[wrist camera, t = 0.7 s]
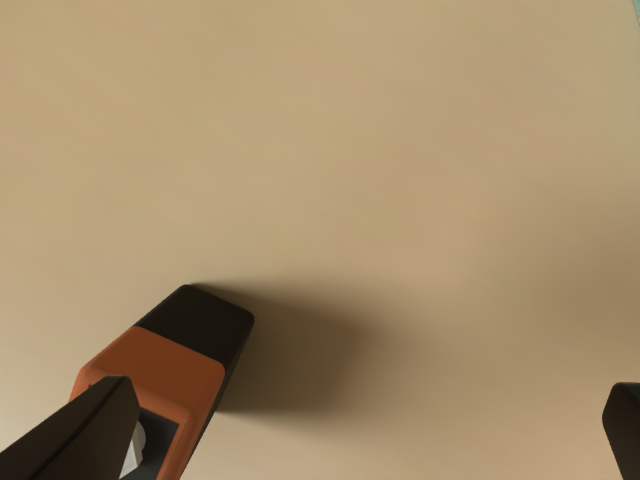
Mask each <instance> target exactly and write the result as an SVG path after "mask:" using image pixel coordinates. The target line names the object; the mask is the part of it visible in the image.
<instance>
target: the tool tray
mask: <svg viewBox="0 0 640 480" xmlns="http://www.w3.org/2000/svg"><path fill="white" fill-rule="evenodd" d="M633 1H634V5H635V8H636V12H637V16H638V19H639V23H640V0H633Z"/></svg>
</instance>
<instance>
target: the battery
mask: <svg viewBox="0 0 640 480" xmlns="http://www.w3.org/2000/svg"><path fill="white" fill-rule="evenodd" d="M253 324H254V316H253V315H252V313H250V312H248V311H246V310H244V309H241V308H239V307H237V306H235V305H233V304H230V303H228V302H226V301H224V300H222V299H219V298H217V297H215V296H213V295H210V294H208V293H206V292H204V291H202V290H199V289H197V288H195V287H193V286H190V285H182V286H181V287H179V288H178V289H177V290H175V291H174V292H173V293H172V294H170V295H169V296H168V297H167V298H166V299H164V300H163V301H162V302H161V303H160V304H158V305H157V306H156V307H155V308H153V309H152V310H151V311H150V312H149V313H147V314H146V315H145V316H144V317H143V318H141V319H140V320H139V321H138V322H136V323H135V324H134V325H133V326H132V327H130V328H129V329H128V330H127V331H126V332H124V333H123V334H122V335H121V336H119V337H118V338H117V339H116V340H115V341H113V342H112V343H111V344H110V345H109V346H107V347H106V348H105V349H104V350H102V351H101V352H100V353H99V354H98V355H96V356H95V357H94V358H93V359H91V360H90V361H89V362H88V363H87V364H85V365H84V366H83V367H82V368H81V370H80V371H79V373H78V376H77V378H76V381H75V384H74V387H73V390H72V393H71V396H70V398H69V401H68V403H69V402H70V401H71V400H73V399H74V398H76V397H77V396H78V395H80V394H81V393H82V392H84V391H85V390H86V389H88V388H89V387H91V386H92V385H93V384H95V383H96V382H97V381H99V380H100V379H101V378H103V377H105V376H107V375H127V376H128V377H130V379H131V381H132V384H133V387H134V389H135V392H136V395H137V398H138V401H139V405H140V413H139V418H138V421H137V424H136V427H135V430H134V434H133V437H132V440H131V443H130V446H129V449H128V453H127V456H126V459H125V462H124V465H123V468H122V472H121V475H120V478H119V480H179V479H180V478H181V476H182V474H183V472H184V470H185V468H186V466H187V464H188V462H189V460H190V458H191V456H192V455H193V453H194V451H195V449H196V447H197V445H198V443H199V441H200V439H201V437H202V435H203V433H204V432H205V430H206V428H207V426H208V424H209V422H210V420H211V418H212V416H213V414H214V412H215V410H216V408H217V406H218V404H219V401H220V399H221V397H222V395H223V392H224V390H225V388H226V386H227V383H228V381H229V379H230V377H231V374H232V372H233V370H234V368H235V365H236V363H237V361H238V359H239V356H240V354H241V352H242V350H243V347H244V345H245V343H246V341H247V338H248V336H249V334H250V332H251V329H252V327H253Z"/></svg>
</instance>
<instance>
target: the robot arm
mask: <svg viewBox="0 0 640 480" xmlns="http://www.w3.org/2000/svg"><path fill="white" fill-rule="evenodd" d="M139 413H140V405H139V401H138V398H137V395H136V392H135V389H134V387H133V384H132V381H131V379H130V377H128V376H127V375H107V376H105V377H103V378H101V379H100V380H99V381H97V382H96V383H95V384H93V385H92V386H91V387H89V388H88V389H86V390H85V391H84V392H82V393H81V394H80V395H78V396H77V397H76V398H74V399H73V400H71V401H70V402H69V403H67V404H66V405H65V406H63V407H62V408H61V409H59V410H58V411H56V412H55V413H54V414H52V415H51V416H50V417H48V418H47V419H46V420H44V421H43V422H41V423H40V424H39V425H37V426H36V427H35V428H33V429H32V430H30V431H29V432H28V433H26V434H25V435H24V436H22V437H21V438H20V439H18V440H17V441H15V442H14V443H13V444H11V445H10V446H9V447H7V448H6V449H5V450H3V451H2V452H0V480H119V478H120V475H121V472H122V468H123V465H124V462H125V459H126V456H127V453H128V449H129V446H130V443H131V440H132V437H133V434H134V430H135V427H136V424H137V421H138V418H139ZM602 422H603V427H604V430H605V432H606V435H607V438H608V440H609V443H610V446H611V449H612V451H613V454H614V457H615V459H616V462H617V465H618V467H619V470H620V473H621V475H622V478H623V480H640V383H634V382H618V383H616V384H615V385H613V387H612V389H611V392H610V394H609V397H608V400H607V402H606V405H605V408H604V410H603V414H602Z"/></svg>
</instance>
